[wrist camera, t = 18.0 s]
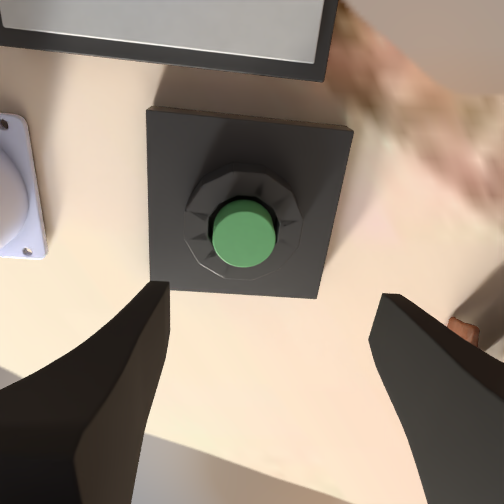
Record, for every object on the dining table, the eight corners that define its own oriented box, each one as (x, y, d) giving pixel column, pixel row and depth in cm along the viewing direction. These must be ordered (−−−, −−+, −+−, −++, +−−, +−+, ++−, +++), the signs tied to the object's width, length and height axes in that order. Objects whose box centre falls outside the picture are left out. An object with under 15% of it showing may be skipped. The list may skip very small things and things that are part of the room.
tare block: (154, 276, 23) (144, 305, 21) (151, 105, 19) (138, 114, 16) (312, 286, 24) (322, 315, 22) (346, 126, 20) (364, 137, 17)
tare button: (212, 250, 20) (210, 265, 18) (215, 196, 18) (214, 208, 17) (268, 254, 20) (271, 269, 19) (276, 201, 19) (279, 213, 17)
